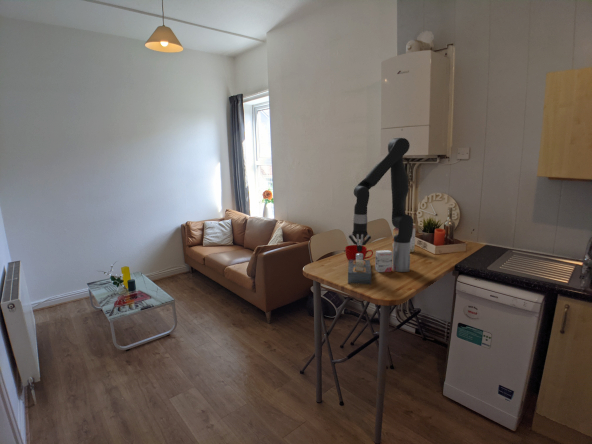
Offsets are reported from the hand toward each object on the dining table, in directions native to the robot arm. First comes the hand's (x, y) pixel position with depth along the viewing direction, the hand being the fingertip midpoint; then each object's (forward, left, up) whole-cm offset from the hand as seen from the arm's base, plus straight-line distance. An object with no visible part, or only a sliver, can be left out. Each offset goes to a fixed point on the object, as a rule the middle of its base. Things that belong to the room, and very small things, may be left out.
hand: (359, 251), depth 186 cm
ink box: (-14, -5, -13) cm, 20 cm away
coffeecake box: (-31, -50, -13) cm, 60 cm away
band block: (0, +6, -13) cm, 14 cm away
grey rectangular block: (0, +12, -8) cm, 14 cm away
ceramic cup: (0, -16, -13) cm, 21 cm away
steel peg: (0, 0, -8) cm, 8 cm away
